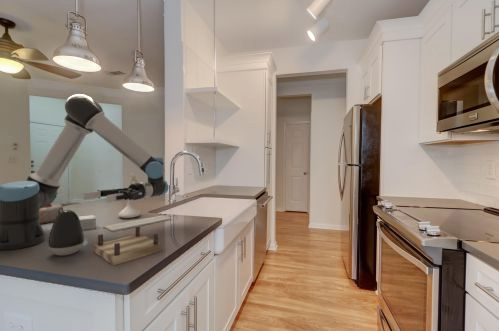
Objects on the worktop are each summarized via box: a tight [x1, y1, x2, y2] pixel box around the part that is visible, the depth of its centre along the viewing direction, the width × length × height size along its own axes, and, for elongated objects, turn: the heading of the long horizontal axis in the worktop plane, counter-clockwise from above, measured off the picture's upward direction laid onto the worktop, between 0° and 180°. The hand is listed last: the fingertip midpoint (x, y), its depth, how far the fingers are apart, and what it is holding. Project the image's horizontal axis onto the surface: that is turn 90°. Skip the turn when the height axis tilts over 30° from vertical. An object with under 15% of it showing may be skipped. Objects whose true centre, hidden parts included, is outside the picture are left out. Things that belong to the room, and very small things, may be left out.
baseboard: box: [102, 213, 172, 233], centre depth 127 cm, size 31×3×12 cm
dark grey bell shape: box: [47, 209, 85, 257], centre depth 87 cm, size 10×10×15 cm
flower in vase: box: [117, 172, 141, 219], centre depth 140 cm, size 13×11×25 cm
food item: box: [39, 203, 64, 225], centre depth 125 cm, size 14×8×10 cm, turn 152°
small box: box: [78, 214, 97, 231], centre depth 117 cm, size 8×8×5 cm
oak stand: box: [92, 226, 163, 266], centre depth 90 cm, size 17×17×6 cm
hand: (95, 197), depth 96 cm, fingers open, 13 cm apart
